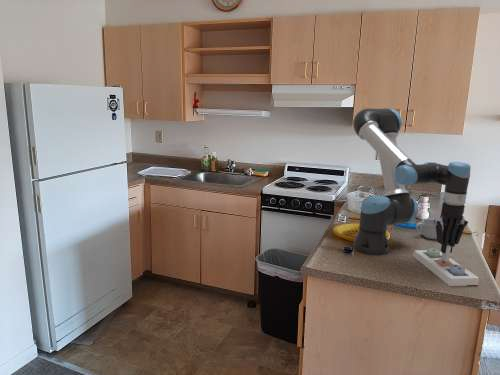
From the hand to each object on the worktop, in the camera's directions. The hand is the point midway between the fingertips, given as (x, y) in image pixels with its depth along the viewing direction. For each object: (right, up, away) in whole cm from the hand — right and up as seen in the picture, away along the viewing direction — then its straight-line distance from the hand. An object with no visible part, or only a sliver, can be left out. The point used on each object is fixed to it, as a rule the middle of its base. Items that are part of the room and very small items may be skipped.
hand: (444, 260), depth 152 cm
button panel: (0, -4, +1) cm, 4 cm away
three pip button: (0, -3, +1) cm, 3 cm away
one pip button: (-1, 0, +8) cm, 8 cm away
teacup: (+11, +4, +37) cm, 39 cm away
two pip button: (+1, -4, -7) cm, 8 cm away
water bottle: (+5, +10, +61) cm, 62 cm away
